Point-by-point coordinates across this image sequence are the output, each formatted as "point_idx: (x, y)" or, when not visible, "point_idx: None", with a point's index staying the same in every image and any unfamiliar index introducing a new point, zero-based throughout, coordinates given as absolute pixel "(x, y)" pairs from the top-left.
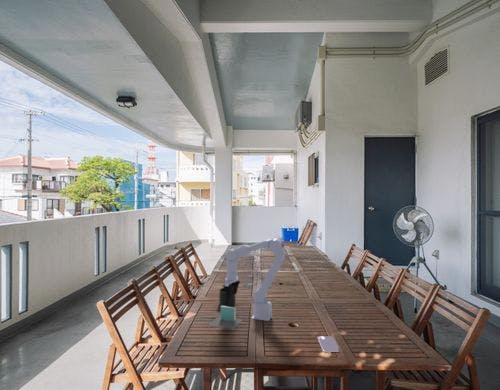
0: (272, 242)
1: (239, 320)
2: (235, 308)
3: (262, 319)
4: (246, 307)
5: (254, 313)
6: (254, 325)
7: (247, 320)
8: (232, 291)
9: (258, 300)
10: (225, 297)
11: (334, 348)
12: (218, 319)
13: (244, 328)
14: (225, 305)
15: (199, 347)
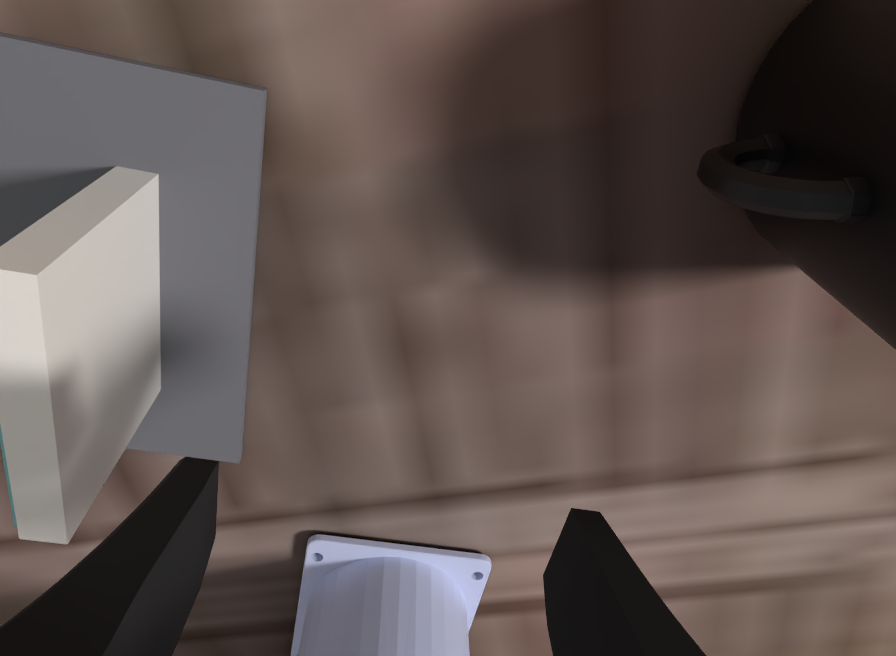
0: None
1: (191, 432)
2: (66, 530)
3: (297, 634)
4: (724, 429)
5: (334, 607)
6: None
7: (256, 500)
8: (588, 562)
9: None
10: (783, 199)
11: None
12: (101, 127)
13: (6, 504)
14: (752, 127)
15: None
